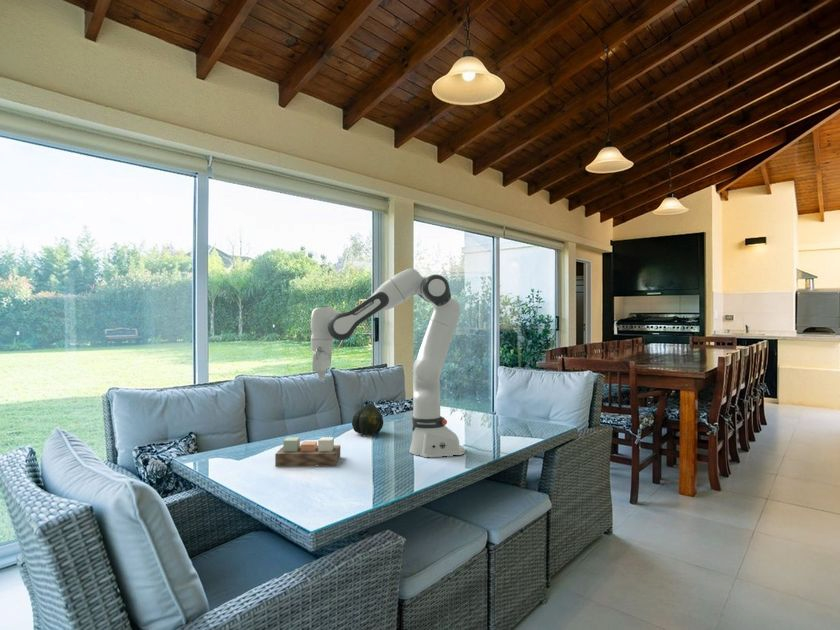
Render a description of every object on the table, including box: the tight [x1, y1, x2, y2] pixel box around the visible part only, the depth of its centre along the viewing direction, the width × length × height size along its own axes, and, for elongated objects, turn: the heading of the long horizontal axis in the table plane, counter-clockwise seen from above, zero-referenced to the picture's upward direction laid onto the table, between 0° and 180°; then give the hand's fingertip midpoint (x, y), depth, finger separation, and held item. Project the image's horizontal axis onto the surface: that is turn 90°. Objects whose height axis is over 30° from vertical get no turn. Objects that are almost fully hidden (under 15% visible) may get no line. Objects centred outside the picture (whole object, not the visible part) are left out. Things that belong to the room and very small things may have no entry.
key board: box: [274, 444, 341, 467], centre depth 186 cm, size 22×12×4 cm, turn 91°
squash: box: [351, 402, 384, 437], centre depth 231 cm, size 14×15×15 cm
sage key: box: [282, 436, 301, 452], centre depth 186 cm, size 5×5×5 cm
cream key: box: [317, 436, 335, 451], centre depth 186 cm, size 5×5×5 cm
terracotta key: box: [300, 440, 318, 451], centre depth 186 cm, size 5×5×5 cm
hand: (321, 381), depth 196 cm, fingers closed
